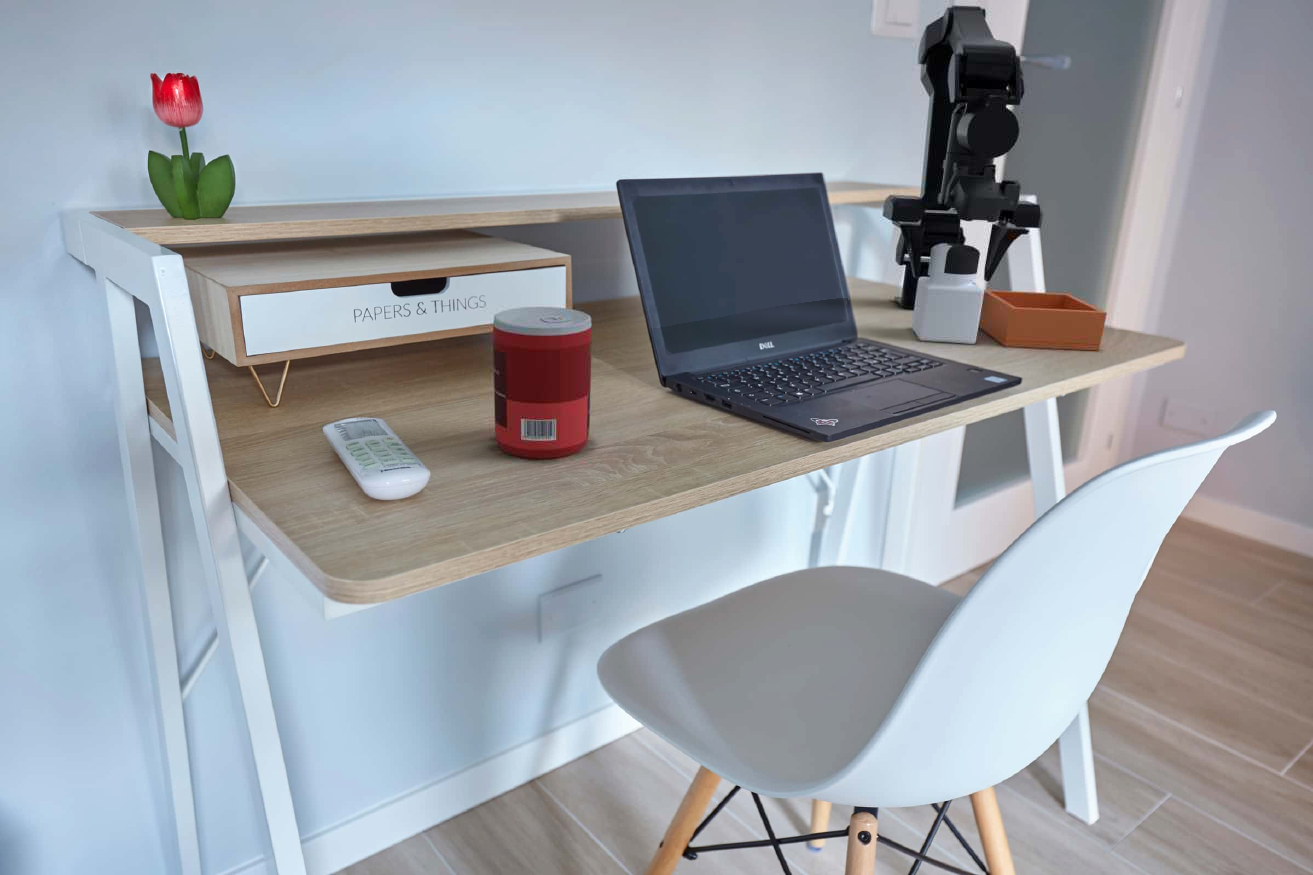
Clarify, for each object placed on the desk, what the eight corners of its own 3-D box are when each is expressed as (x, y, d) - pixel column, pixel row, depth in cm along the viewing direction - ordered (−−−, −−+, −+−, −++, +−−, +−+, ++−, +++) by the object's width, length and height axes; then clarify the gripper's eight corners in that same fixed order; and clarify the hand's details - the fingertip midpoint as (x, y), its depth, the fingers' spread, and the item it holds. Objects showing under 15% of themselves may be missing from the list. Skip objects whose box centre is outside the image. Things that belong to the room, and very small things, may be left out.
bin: (975, 325, 131) (981, 289, 129) (1061, 329, 131) (1068, 293, 129) (1005, 346, 119) (1011, 308, 117) (1099, 350, 119) (1107, 312, 118)
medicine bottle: (964, 332, 126) (978, 242, 122) (975, 344, 119) (991, 251, 115) (910, 328, 127) (923, 239, 122) (919, 341, 120) (933, 247, 116)
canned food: (607, 446, 79) (611, 319, 75) (532, 468, 74) (531, 332, 70) (551, 422, 84) (552, 302, 80) (477, 441, 79) (473, 313, 75)
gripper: (911, 154, 107) (893, 288, 113) (1072, 161, 108) (1046, 295, 113) (889, 149, 118) (874, 271, 123) (1036, 156, 118) (1014, 278, 123)
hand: (951, 279), depth 120 cm, fingers open, 9 cm apart
